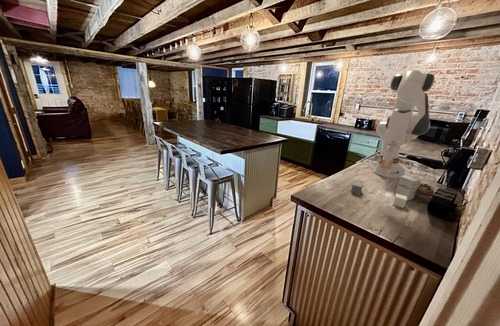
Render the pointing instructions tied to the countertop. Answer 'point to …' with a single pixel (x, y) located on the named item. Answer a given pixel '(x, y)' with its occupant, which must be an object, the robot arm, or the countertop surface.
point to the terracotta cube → (388, 164)
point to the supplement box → (408, 186)
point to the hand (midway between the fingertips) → (386, 164)
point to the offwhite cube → (400, 200)
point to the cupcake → (424, 193)
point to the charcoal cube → (356, 188)
